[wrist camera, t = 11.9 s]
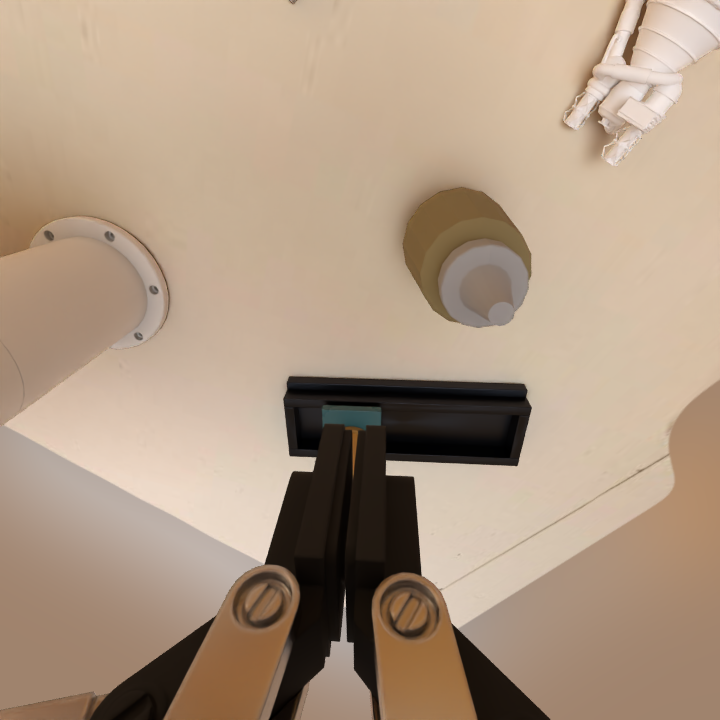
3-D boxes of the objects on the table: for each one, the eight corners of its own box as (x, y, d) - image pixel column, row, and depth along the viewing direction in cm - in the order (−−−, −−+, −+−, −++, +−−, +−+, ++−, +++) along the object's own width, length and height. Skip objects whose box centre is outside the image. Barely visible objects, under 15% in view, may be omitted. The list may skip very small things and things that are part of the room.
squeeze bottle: (467, 295, 36) (527, 410, 21) (386, 259, 35) (383, 353, 20) (517, 208, 33) (637, 268, 17) (428, 165, 32) (466, 188, 16)
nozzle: (329, 450, 44) (317, 513, 37) (326, 391, 41) (312, 447, 33) (379, 452, 44) (378, 516, 37) (381, 392, 40) (380, 449, 33)
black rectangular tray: (295, 443, 46) (290, 462, 43) (289, 376, 42) (282, 392, 39) (508, 452, 45) (516, 472, 42) (524, 383, 40) (533, 400, 38)
